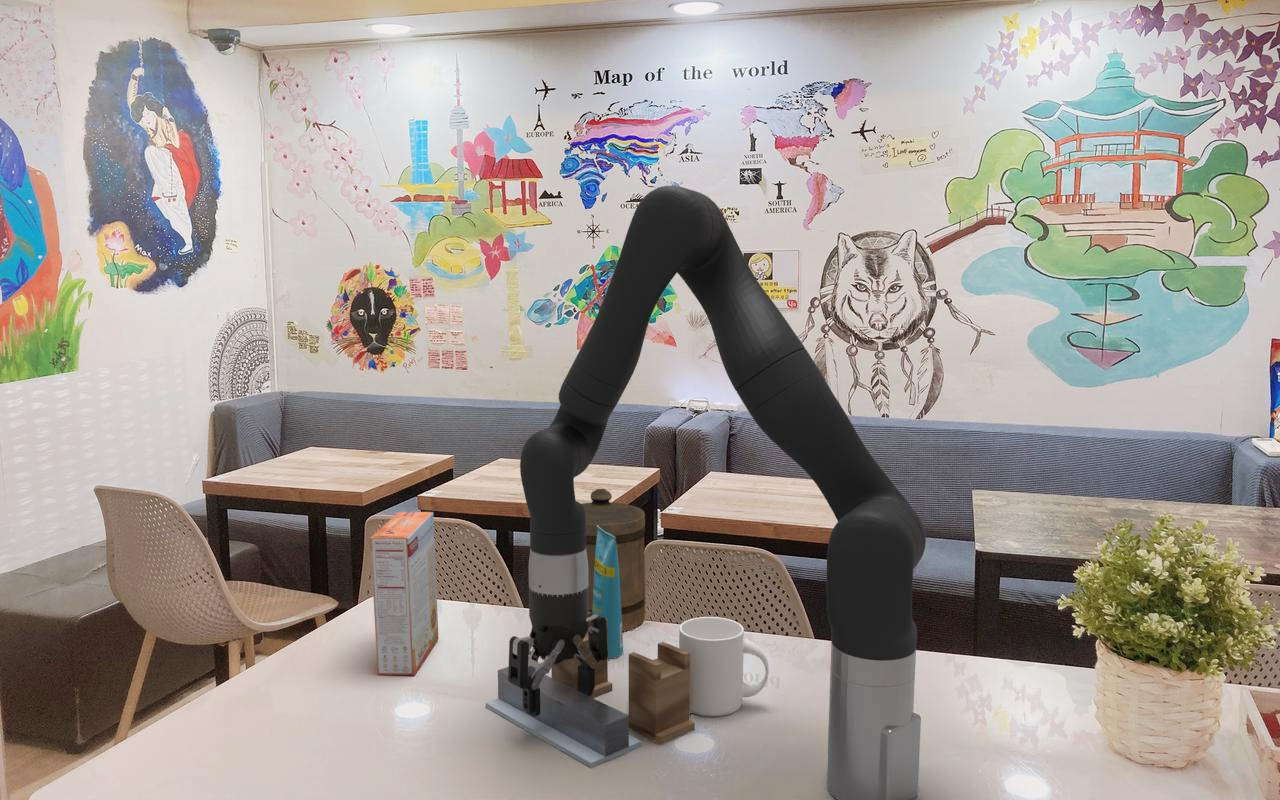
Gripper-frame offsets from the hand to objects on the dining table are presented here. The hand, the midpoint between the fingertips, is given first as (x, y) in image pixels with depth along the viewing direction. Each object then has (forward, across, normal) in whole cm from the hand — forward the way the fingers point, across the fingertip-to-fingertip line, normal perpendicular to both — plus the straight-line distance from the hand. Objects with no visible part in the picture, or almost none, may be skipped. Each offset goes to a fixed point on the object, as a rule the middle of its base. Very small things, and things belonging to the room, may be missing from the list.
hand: (559, 704), depth 130 cm
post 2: (+3, +9, -9) cm, 13 cm away
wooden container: (+3, +29, +26) cm, 39 cm away
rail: (+2, 0, 0) cm, 2 cm away
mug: (+3, +20, -10) cm, 23 cm away
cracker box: (+3, -3, +33) cm, 33 cm away
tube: (+3, +20, +14) cm, 25 cm away
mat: (+3, 0, 0) cm, 3 cm away
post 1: (+3, +9, +7) cm, 12 cm away
